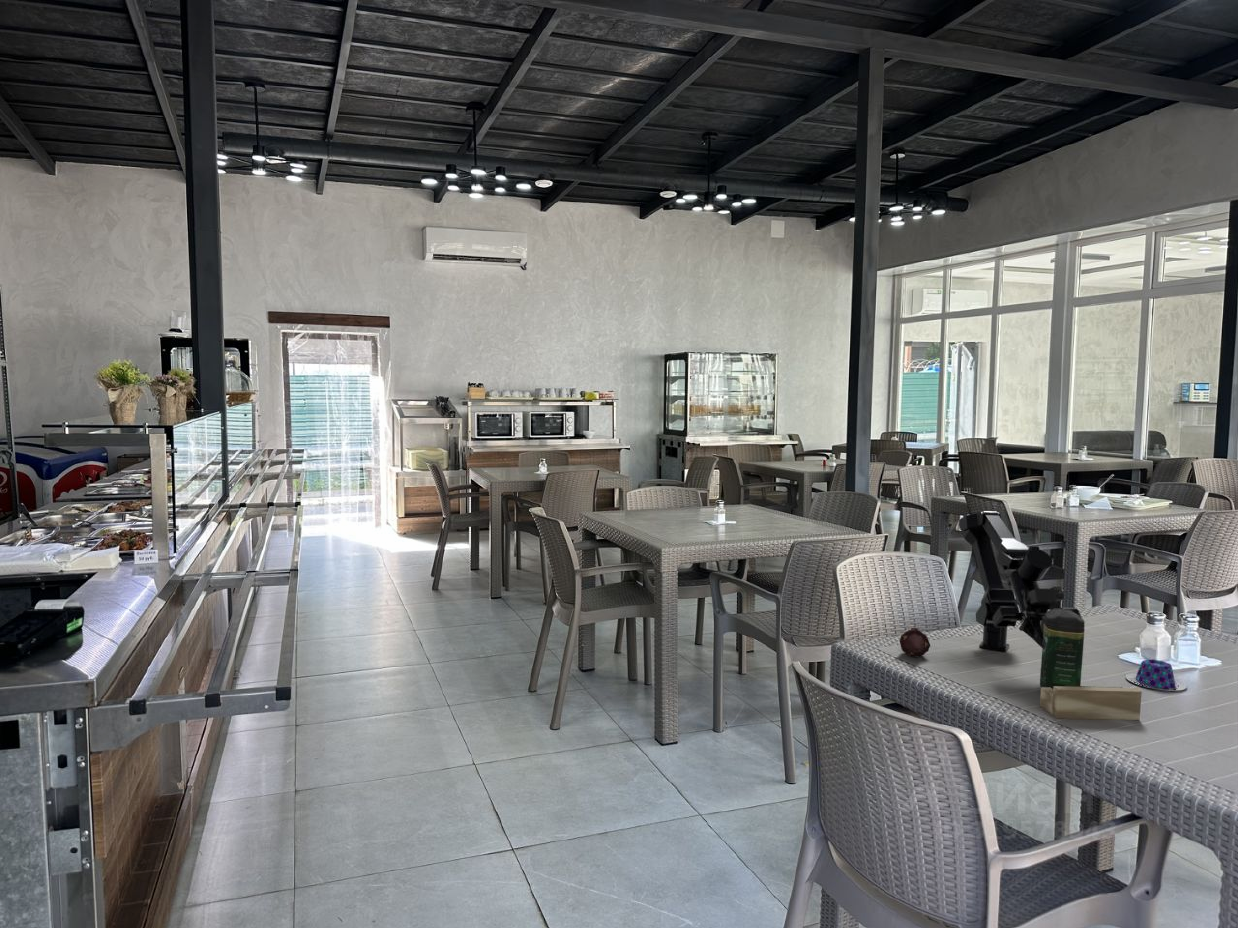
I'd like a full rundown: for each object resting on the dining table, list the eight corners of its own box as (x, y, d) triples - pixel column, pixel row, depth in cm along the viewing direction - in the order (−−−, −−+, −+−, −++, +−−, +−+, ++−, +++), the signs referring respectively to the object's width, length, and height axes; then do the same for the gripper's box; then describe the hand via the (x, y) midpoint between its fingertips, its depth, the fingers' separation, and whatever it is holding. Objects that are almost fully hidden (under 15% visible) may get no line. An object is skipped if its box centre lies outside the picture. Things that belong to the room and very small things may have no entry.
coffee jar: (1083, 702, 181) (1088, 618, 179) (1042, 696, 184) (1047, 614, 182) (1075, 687, 190) (1081, 608, 188) (1037, 683, 193) (1042, 604, 191)
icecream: (936, 640, 203) (930, 629, 218) (906, 630, 205) (901, 620, 220) (928, 667, 204) (922, 654, 218) (897, 656, 205) (893, 644, 220)
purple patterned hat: (1126, 672, 202) (1127, 651, 202) (1185, 682, 196) (1187, 660, 195) (1124, 686, 192) (1125, 664, 192) (1187, 697, 186) (1188, 674, 185)
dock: (1039, 705, 178) (1041, 678, 178) (1119, 707, 178) (1121, 679, 178) (1056, 717, 171) (1058, 689, 171) (1139, 719, 171) (1141, 691, 171)
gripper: (1000, 572, 197) (1019, 631, 187) (1079, 574, 196) (1103, 633, 186) (984, 597, 205) (1001, 655, 195) (1060, 599, 205) (1082, 656, 195)
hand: (1047, 649), depth 193 cm, fingers closed
